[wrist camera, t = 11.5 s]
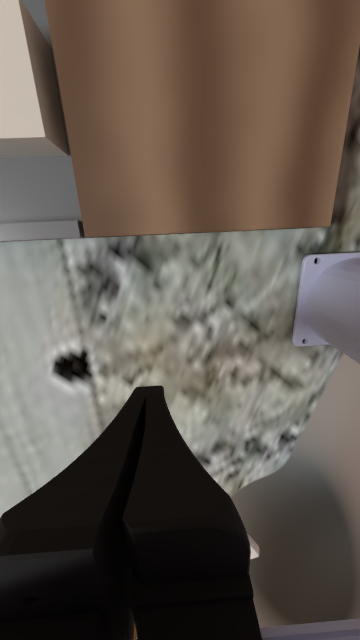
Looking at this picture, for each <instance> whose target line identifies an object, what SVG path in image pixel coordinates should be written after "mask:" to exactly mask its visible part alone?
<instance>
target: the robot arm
mask: <svg viewBox="0 0 360 640" xmlns="http://www.w3.org/2000/svg"><path fill="white" fill-rule="evenodd" d="M316 258H317V260H318V261H317V262H316V263H314V260H315V259H316ZM303 339H305V341H304V342H302V340H303ZM292 343H293V344H294V345H295V346H315V345H332V346H333V347H335V348H337V349H338V350H340V351H341V352H343V353H344V354H346V355H347V356H349V357H350V358H352V359H353V360H355V361H356V362H358V363H359V364H360V252H352V253H331V254H310V255H307V256H305V257H304V258H303V261H302V268H301V276H300V284H299V291H298V299H297V306H296V314H295V322H294V329H293V337H292ZM250 555H251V548H250V542H249V538H248V535H247V533H246V530H245V527H244V525H243V523H242V520H241V518H240V516H239V514H238V512H237V509H236V507H235V505H234V503H233V501H232V500H231V498H230V496H229V495H228V494H227V493H226V492H225V491H224V490H223V489H222V488H221V487H220V486H219V485H218V484H217V483H216V481H215V480H214V479H213V478H212V477H211V476H210V475H209V474H208V472H207V471H206V470H205V469H204V468H203V466H202V465H201V464H200V462H199V461H198V460H197V458H196V457H195V456H194V455H193V453H192V452H191V450H190V449H189V447H188V446H187V444H186V443H185V441H184V440H183V438H182V436H181V435H180V433H179V431H178V429H177V427H176V425H175V423H174V421H173V419H172V417H171V415H170V412H169V409H168V407H167V404H166V401H165V397H164V388H163V387H162V386H147V387H136V388H135V389H134V391H133V393H132V394H131V396H130V397H129V399H128V400H127V402H126V403H125V405H124V406H123V407H122V409H121V410H120V411H119V413H118V414H117V416H116V417H115V418H114V419H113V421H112V422H111V423H110V424H109V425H108V427H107V428H106V429H105V430H104V431H103V433H102V434H101V435H100V436H99V437H98V438H97V439H96V440H95V441H94V442H93V443H92V444H91V445H90V446H89V447H88V448H87V449H86V450H85V451H84V452H83V453H82V454H81V455H80V456H79V457H78V458H77V459H76V460H75V461H73V462H72V463H71V464H70V465H69V466H68V467H67V468H65V469H64V470H63V471H62V472H61V473H59V474H58V475H57V476H56V477H54V478H53V479H52V480H50V481H49V482H48V483H46V484H45V485H44V486H42V487H41V488H40V489H38V490H37V491H36V492H34V493H33V494H31V495H30V496H28V497H27V498H25V499H24V500H22V501H21V502H20V503H18V504H17V505H15V506H14V507H12V508H11V509H9V510H8V511H6V512H5V513H3V515H2V516H1V518H0V640H134V624H135V627H136V631H137V636H138V638H137V639H135V640H360V619H352V620H342V621H331V622H320V623H309V624H298V625H287V626H278V627H265V628H259V624H258V619H257V615H256V611H255V606H254V602H253V589H252V585H251V580H250V577H249V565H250Z"/></svg>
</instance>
